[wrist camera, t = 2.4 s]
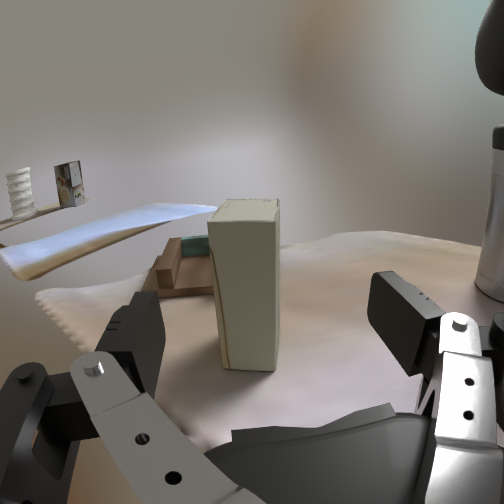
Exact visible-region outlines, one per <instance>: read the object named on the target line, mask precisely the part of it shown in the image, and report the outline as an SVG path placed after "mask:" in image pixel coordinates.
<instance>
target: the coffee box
mask: <svg viewBox="0 0 504 504" xmlns="http://www.w3.org/2000/svg"><path fill="white" fill-rule="evenodd" d="M54 169H55V177H56V184H57V190H58V196H59V202H60V207H61V208H68V207H76V206H79V205H81V204H84V203H86V201H85V195H84V189H83V182H82V174H81V167H80V161H75V162H70V163H65V164H62V165H58V166H54Z"/></svg>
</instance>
